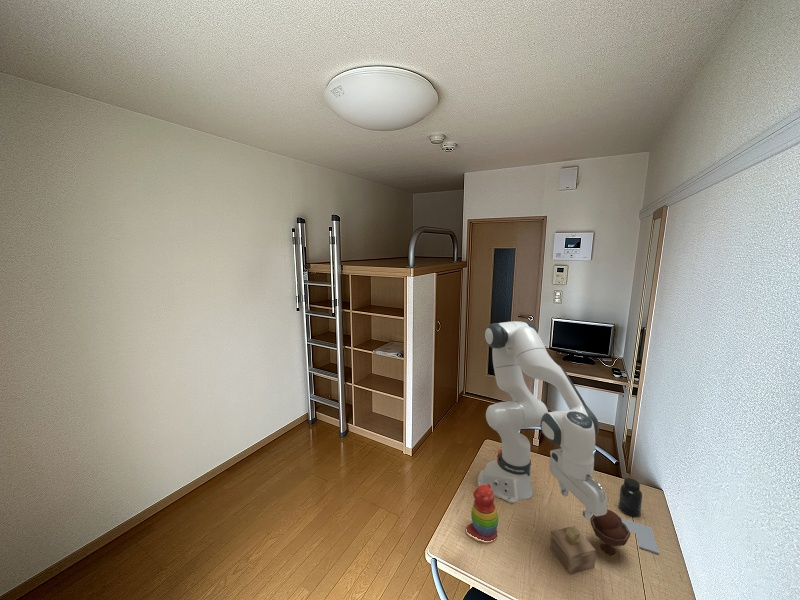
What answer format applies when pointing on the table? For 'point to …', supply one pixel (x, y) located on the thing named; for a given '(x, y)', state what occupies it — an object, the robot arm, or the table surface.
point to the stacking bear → (483, 514)
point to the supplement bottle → (630, 498)
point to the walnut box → (572, 564)
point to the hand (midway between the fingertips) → (575, 505)
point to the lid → (573, 542)
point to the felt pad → (643, 536)
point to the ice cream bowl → (610, 531)
